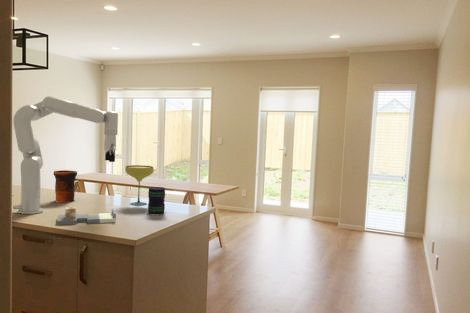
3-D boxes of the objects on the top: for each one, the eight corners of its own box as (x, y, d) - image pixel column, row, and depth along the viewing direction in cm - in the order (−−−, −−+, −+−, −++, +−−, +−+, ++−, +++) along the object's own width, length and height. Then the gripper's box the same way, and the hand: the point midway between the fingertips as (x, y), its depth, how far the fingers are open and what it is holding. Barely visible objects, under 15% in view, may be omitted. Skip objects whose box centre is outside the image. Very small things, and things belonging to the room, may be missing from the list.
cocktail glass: (148, 201, 263) (149, 165, 261) (155, 206, 247) (156, 167, 245) (121, 202, 254) (123, 165, 253) (127, 207, 238) (128, 167, 237)
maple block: (65, 218, 193) (65, 209, 193) (65, 216, 198) (65, 207, 198) (75, 218, 195) (75, 208, 195) (75, 216, 200) (75, 206, 200)
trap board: (57, 224, 188) (57, 216, 188) (58, 218, 201) (58, 210, 201) (115, 222, 199) (116, 213, 199) (113, 216, 212) (113, 208, 212)
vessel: (49, 199, 251) (50, 169, 250) (71, 198, 260) (72, 169, 259) (56, 203, 240) (57, 172, 239) (79, 202, 250) (80, 172, 249)
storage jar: (144, 213, 223) (145, 188, 223) (153, 210, 233) (154, 186, 232) (158, 215, 220) (159, 189, 219) (167, 212, 229) (168, 187, 228)
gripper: (101, 131, 230) (100, 159, 231) (107, 132, 215) (106, 162, 216) (113, 132, 234) (112, 159, 235) (121, 133, 219) (120, 162, 220)
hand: (109, 161), depth 225 cm, fingers open, 9 cm apart
